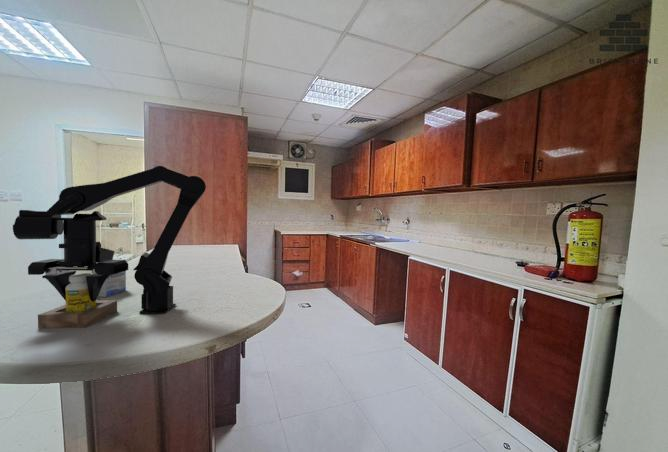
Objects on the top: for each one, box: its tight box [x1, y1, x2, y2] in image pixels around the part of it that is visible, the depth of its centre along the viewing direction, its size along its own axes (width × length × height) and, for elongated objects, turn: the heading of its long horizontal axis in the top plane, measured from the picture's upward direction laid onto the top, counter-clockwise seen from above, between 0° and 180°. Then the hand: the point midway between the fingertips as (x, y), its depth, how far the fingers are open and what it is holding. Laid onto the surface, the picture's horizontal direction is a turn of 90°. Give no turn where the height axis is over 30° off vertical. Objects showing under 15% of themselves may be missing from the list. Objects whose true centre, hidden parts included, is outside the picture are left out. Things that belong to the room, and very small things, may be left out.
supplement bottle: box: [65, 272, 96, 312], centre depth 65 cm, size 5×5×10 cm
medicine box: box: [91, 271, 127, 298], centre depth 85 cm, size 8×4×9 cm, turn 179°
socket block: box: [37, 299, 118, 329], centre depth 65 cm, size 10×10×3 cm
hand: (81, 301), depth 65 cm, fingers closed on supplement bottle, 5 cm apart
